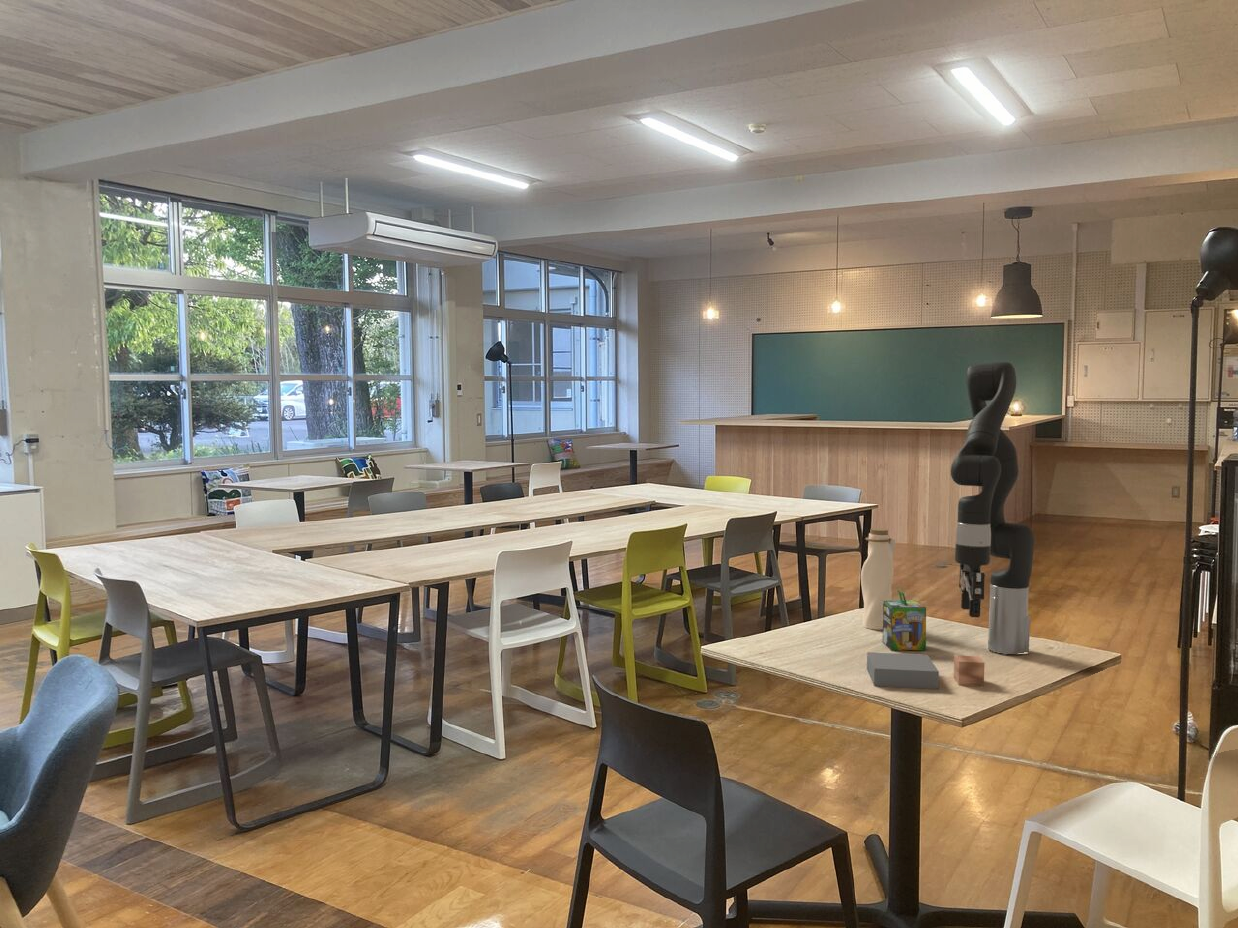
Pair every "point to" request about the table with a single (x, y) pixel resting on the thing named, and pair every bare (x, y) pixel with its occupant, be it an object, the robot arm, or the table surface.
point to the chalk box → (904, 624)
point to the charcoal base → (902, 670)
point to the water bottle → (877, 577)
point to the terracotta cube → (969, 670)
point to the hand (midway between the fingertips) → (970, 612)
